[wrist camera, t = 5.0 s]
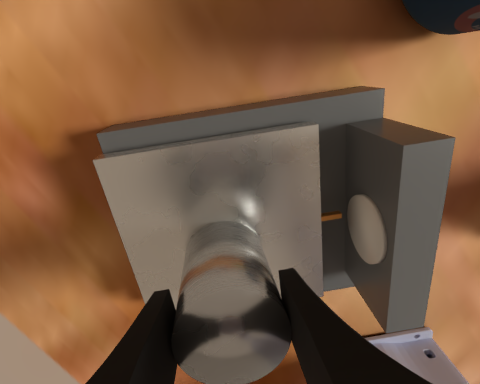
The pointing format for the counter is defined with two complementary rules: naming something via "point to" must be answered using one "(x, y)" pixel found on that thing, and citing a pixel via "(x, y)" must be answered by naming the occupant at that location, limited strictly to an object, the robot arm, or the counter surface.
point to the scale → (347, 188)
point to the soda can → (445, 15)
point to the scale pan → (219, 200)
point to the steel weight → (228, 308)
